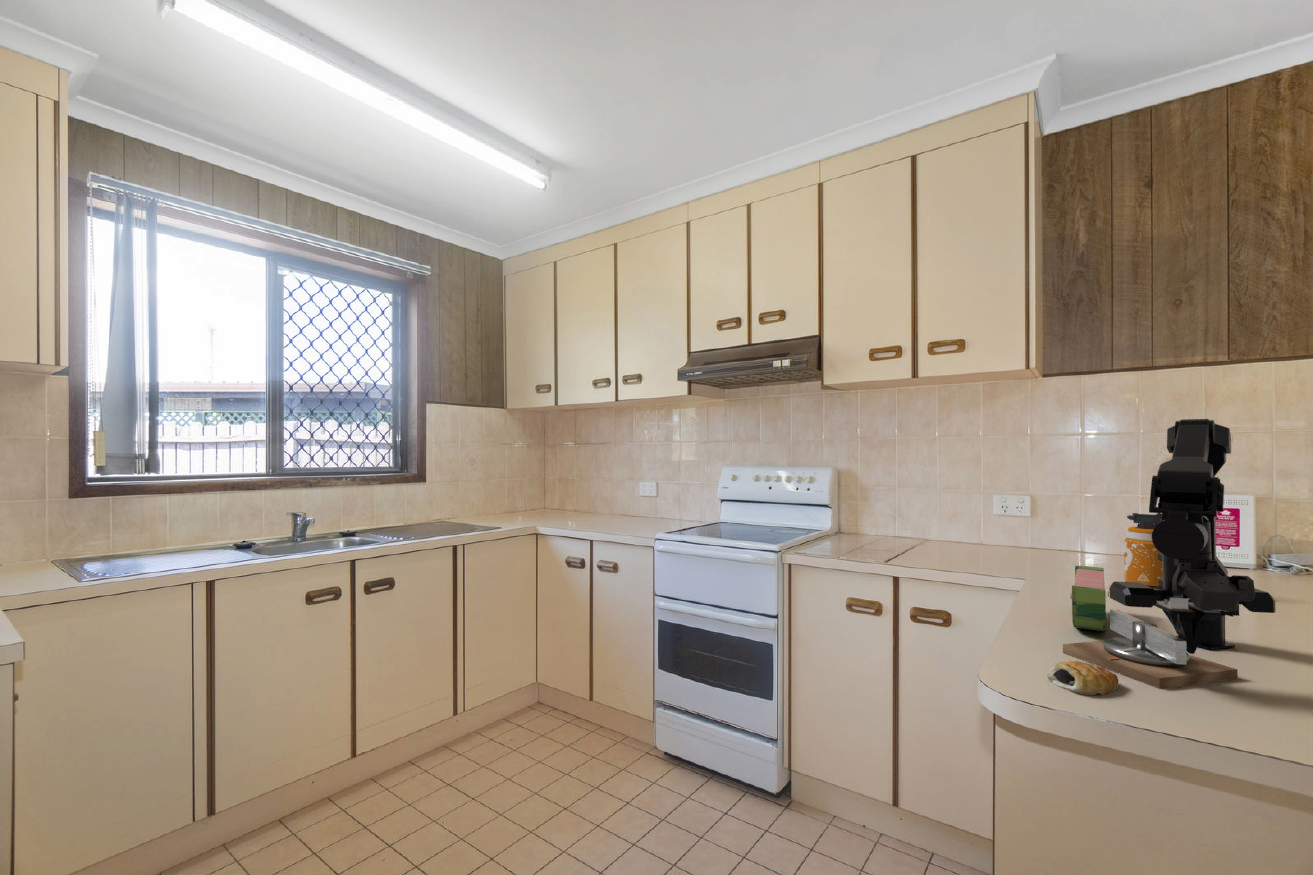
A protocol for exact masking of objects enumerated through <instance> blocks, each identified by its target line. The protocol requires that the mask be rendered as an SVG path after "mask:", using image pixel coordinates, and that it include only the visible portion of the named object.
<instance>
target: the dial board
mask: <svg viewBox="0 0 1313 875" xmlns="http://www.w3.org/2000/svg"><path fill="white" fill-rule="evenodd" d="M1104 640H1105V639H1104ZM1104 640H1095V641H1085V642H1083V641H1082V642H1074V643H1073V642H1072V643H1063V644H1062V654H1065V655H1067V656H1071V657H1074V658H1076V659H1079V660H1081V659H1082V660H1081V661H1084V660H1085V661H1084V662H1086V661H1087V662H1086V663H1088V664H1092V665H1095V664H1096V665H1095V666H1097V665H1098V666H1101V667H1103V668H1107V669H1106V670H1108V669H1109V670H1108V671H1110V672H1114V673H1116V674H1119V673H1120V674H1119V675H1122V676H1124V677H1128V678H1130V679H1133V680H1136V681H1138V682H1141V683H1143V682H1144V684H1146V685H1150V686H1152V687H1154V688H1157V689H1165V688H1173V687H1182V686H1191V685H1199V683H1200V684H1206V682H1209V683H1216V682H1224V681H1230V680H1231V681H1233V680H1238V678H1239V676H1238V670H1239V669H1237V668H1235V667H1231V666H1227V665H1224V664H1221V663H1218V662H1214V661H1211V660H1208V659H1205V658H1203V657H1202V658H1201V657H1199V656H1196V655H1193V654H1189V664H1187V665H1184V666H1160V665H1152V664H1146V663H1141V662H1136V661H1132V660H1128V659H1124V658H1121V657H1118V656H1116V655H1113V654H1111V653H1109V652H1107V651H1106V650H1105V649H1104Z"/></svg>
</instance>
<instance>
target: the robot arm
mask: <svg viewBox="0 0 1313 875" xmlns="http://www.w3.org/2000/svg"><path fill="white" fill-rule="evenodd" d="M1166 449H1167V452H1168V453H1169V454H1172V456H1171V459H1169V460H1167V461H1165V462H1162V463H1161V464H1159V467H1158V470H1157V474H1156V475H1152V477H1151V486H1150V494H1149V495H1150V496H1149V506H1148V513H1149V514H1158V513H1160V514H1162V519H1161V523H1159V524H1158V525H1157V526H1156V527H1155V528H1154V530H1153V532H1152V542H1153V544H1154V546H1155V547H1156V549H1157V550H1158V551H1159V552H1161V553H1162V554H1158V560H1160V561H1162V566H1163V580H1159V586H1161V587H1163V589H1153V588H1151V587H1149V586H1146V585H1144V584H1141V583H1139V582H1125V581H1113V582H1112V583H1111V584H1110V586H1109V590H1108V591H1109V599H1111V600H1113V601H1115V602H1117V603H1120V604H1122V605H1123V606H1126V607H1131V608H1148V609H1149V608H1153V607H1156V608H1158V609H1161V611H1162V612H1163V613H1164V614H1165V616H1166V617H1167V619H1168V620H1169V622H1170V623H1171V625H1172V627H1173V628H1174V630H1175V632H1176V634H1177V635H1175V636H1176V637H1178V638H1180V639H1182V640H1184V641H1186V653H1188V654H1189V655H1194V654H1195V652H1196V650H1197V648H1203V649H1206V650H1209V651H1210V650H1221V649H1230V648H1236V644H1234V643H1231V642H1228V641H1226V616H1229V617H1232V618H1233V617H1236V616H1237V617H1239V616H1240V606H1241V605H1242V606H1243V607H1244V608H1245V609H1246V610H1248V611H1249V612H1251V613H1264V614H1265V613H1266V614H1274V613H1276V612H1277V611H1276V600H1275V598H1274V597H1273V595H1271V594H1270V592H1268V591H1264V590H1261V589H1258V588H1255V583H1254V582H1255V581H1254V579H1252V578H1251V577H1250V576H1249V575H1236V574H1235V575H1231V576H1229V571H1228V569H1227V568H1226V566H1224V564H1223V562H1222V561H1221V560H1220V559H1219V558H1218V556H1217V543H1216V542H1217V541H1216V540H1217V531H1216V530H1217V529H1216V527H1217V526H1216V525H1217V524H1216V518H1218V515H1219V514H1218V513H1219V512H1224V503H1225V502H1224V501H1225V484H1223V483H1222V482H1221V478H1219V476H1217V477H1216V475H1217V474H1218V473H1219V472H1220V471H1221V469H1222V468H1223V466H1224V465H1225V464H1226V462H1227V454H1228V455H1230V454H1232V435H1231V429H1230V428H1229V427H1227V426H1224V425H1221V424H1218V423H1215V419H1209V418H1189V419H1187V418H1186V419H1185V418H1184V419H1179V420H1175V422H1174V425H1173V426H1171V427H1168V428H1167V429H1166Z"/></svg>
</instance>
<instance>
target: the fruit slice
mask: <svg viewBox="0 0 1313 875" xmlns="http://www.w3.org/2000/svg"><path fill="white" fill-rule="evenodd" d="M1105 583H1106V582H1105V570H1104V567H1100V566H1099V567H1097V566H1088V565H1074V584H1073V585H1071V594H1070V600H1071V610H1072V611H1071V612H1072V613H1071V614H1072V616H1071V618H1072V625H1073V627H1074V628H1078V629H1084V630H1090V631H1098V632H1106V630H1107V629H1106V628H1107V624H1106V623H1107V622H1106V621H1107V617H1106V616H1107V615H1106V614H1107V612H1106V611H1107V609H1106V607H1107V606H1106V605H1107V604H1106V602H1107V600H1106V598H1107V597H1108V598H1110V591H1106V585H1105ZM1106 592H1107V593H1106Z"/></svg>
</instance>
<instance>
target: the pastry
mask: <svg viewBox="0 0 1313 875" xmlns="http://www.w3.org/2000/svg"><path fill="white" fill-rule="evenodd" d="M1046 677H1047V679H1048V681H1049V682H1050V683H1051V682H1052V683H1051V684H1052V685H1054V686H1056V687H1059V688H1062V689H1065V690H1067V691H1069V692H1073V693H1075V694H1078V695H1085V696H1095V695H1096V694H1100V695H1105V694H1109V693H1111V692H1114V691H1116V690H1117V689H1118V686H1119V681H1120V680H1119V678H1118V676H1117V674H1115V673H1113V672H1112V671H1111V670H1108V669H1105V668H1103V667H1100V666H1097V665H1095V664H1092V663H1088V662H1082V661H1078V660H1068V661H1058V662H1056V663H1054V664H1053V666H1052V667H1050V669H1049V671H1048V672H1046Z"/></svg>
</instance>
